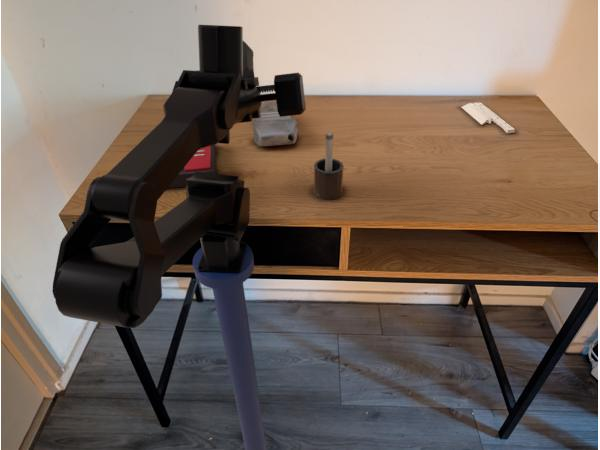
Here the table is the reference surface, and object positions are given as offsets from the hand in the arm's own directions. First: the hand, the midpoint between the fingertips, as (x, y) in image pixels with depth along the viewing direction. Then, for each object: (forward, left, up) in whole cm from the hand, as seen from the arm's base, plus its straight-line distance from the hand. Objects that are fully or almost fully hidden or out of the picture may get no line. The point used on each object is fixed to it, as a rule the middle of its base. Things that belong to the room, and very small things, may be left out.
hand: (261, 94), depth 77 cm
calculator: (-1, +16, -15) cm, 22 cm away
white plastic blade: (+23, -48, -15) cm, 56 cm away
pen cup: (-8, -12, -15) cm, 21 cm away
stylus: (-8, -12, -14) cm, 21 cm away
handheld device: (+16, +1, -15) cm, 22 cm away
